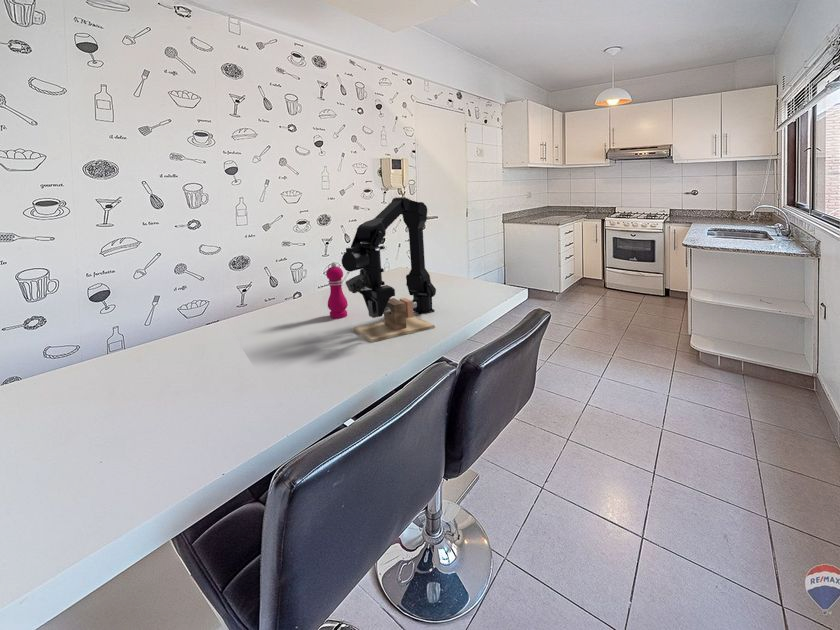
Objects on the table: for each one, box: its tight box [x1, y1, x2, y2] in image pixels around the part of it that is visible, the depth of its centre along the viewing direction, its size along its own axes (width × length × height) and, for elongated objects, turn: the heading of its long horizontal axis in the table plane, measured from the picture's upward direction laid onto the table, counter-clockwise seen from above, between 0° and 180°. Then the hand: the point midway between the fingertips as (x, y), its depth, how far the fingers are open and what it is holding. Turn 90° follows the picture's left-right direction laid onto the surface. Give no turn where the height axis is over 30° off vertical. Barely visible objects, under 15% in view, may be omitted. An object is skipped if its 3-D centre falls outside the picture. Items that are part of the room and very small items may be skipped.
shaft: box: [367, 299, 417, 319], centre depth 146 cm, size 16×3×5 cm, turn 120°
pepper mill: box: [325, 262, 349, 319], centre depth 162 cm, size 7×7×20 cm
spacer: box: [399, 297, 414, 318], centre depth 149 cm, size 2×5×5 cm, turn 30°
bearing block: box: [383, 297, 406, 330], centre depth 147 cm, size 4×8×8 cm, turn 30°
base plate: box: [353, 314, 436, 343], centre depth 148 cm, size 23×14×1 cm, turn 120°
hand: (375, 313), depth 143 cm, fingers open, 7 cm apart
